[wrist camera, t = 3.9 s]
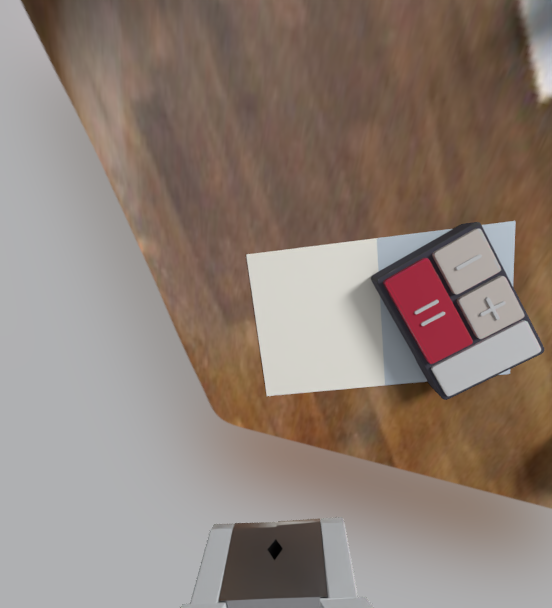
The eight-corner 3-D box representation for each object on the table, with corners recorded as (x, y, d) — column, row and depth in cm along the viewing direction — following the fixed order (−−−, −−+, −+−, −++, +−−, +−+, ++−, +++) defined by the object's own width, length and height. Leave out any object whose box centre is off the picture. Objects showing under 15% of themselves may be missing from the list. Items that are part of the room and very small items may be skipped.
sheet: (246, 254, 35) (246, 254, 35) (514, 220, 33) (515, 220, 33) (266, 395, 39) (266, 396, 39) (508, 373, 37) (510, 373, 37)
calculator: (484, 219, 30) (552, 354, 31) (461, 222, 34) (522, 341, 36) (376, 280, 31) (447, 405, 33) (367, 276, 36) (430, 387, 37)
